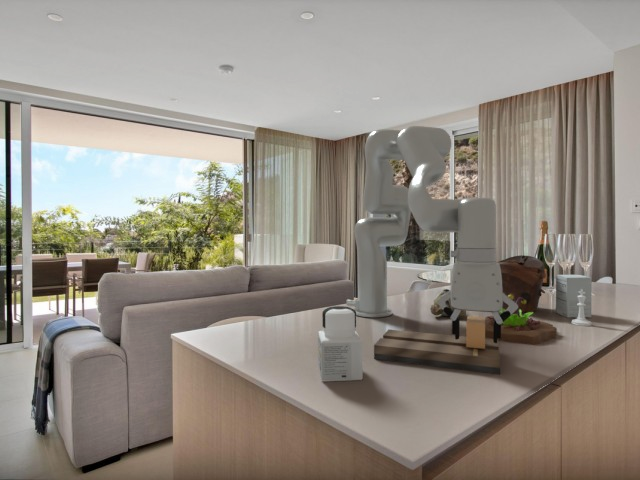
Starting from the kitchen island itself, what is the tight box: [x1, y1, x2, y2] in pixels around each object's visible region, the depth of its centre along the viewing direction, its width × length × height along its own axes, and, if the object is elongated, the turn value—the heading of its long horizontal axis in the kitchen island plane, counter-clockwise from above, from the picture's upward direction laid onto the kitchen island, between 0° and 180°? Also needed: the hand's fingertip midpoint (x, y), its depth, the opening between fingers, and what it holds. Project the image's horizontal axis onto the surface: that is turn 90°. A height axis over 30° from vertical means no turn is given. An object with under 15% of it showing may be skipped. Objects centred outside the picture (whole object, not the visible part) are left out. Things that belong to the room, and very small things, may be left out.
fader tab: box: [465, 315, 486, 349], centre depth 85 cm, size 4×6×7 cm, turn 157°
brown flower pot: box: [496, 254, 547, 313], centre depth 135 cm, size 18×20×18 cm
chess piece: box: [571, 289, 592, 327], centre depth 115 cm, size 5×5×10 cm
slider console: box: [373, 329, 501, 375], centre depth 88 cm, size 25×14×3 cm, turn 67°
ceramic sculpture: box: [430, 288, 467, 317], centre depth 128 cm, size 11×9×15 cm
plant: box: [485, 293, 558, 345], centre depth 106 cm, size 20×20×11 cm
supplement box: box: [555, 274, 593, 318], centre depth 126 cm, size 7×7×13 cm
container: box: [317, 305, 364, 383], centre depth 77 cm, size 8×8×13 cm
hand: (476, 339), depth 85 cm, fingers open, 7 cm apart
